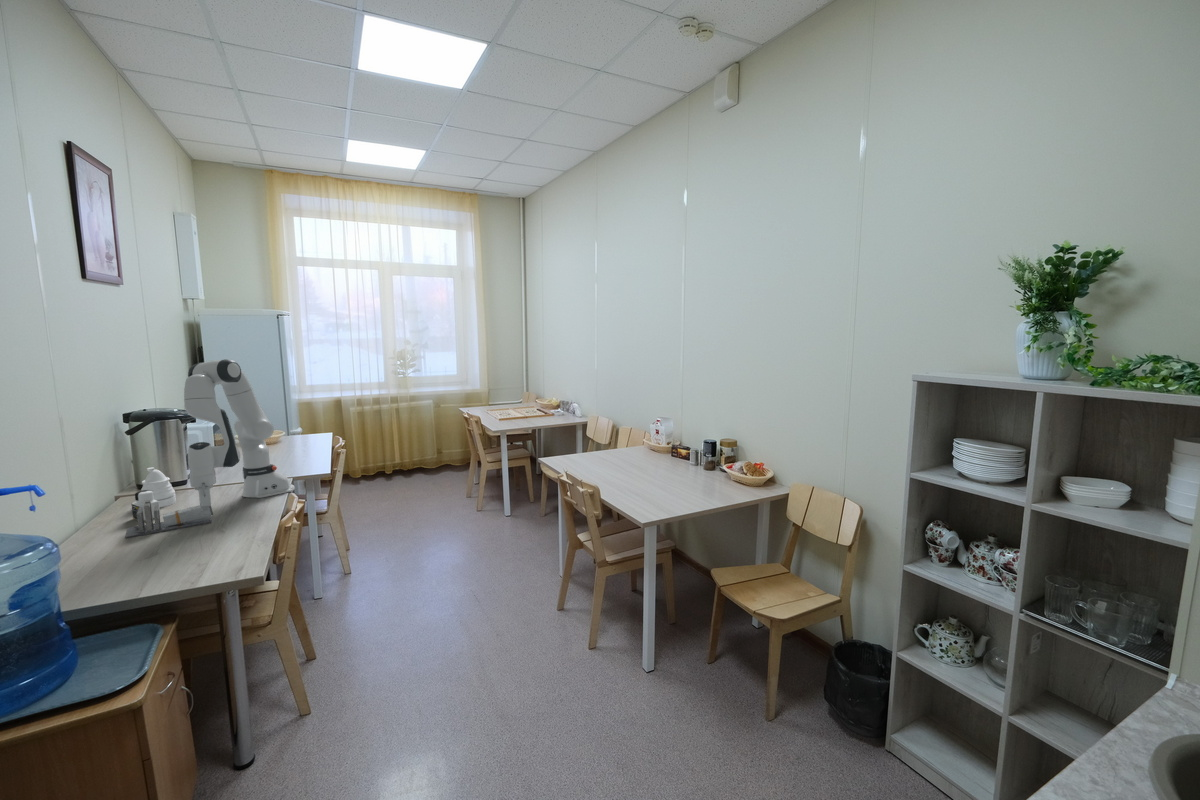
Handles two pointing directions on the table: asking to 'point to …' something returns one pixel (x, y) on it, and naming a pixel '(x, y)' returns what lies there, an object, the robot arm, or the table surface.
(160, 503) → the honey pot
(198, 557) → the table surface
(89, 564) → the table surface
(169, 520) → the orange-striped grey block
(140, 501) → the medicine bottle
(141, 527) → the rail
